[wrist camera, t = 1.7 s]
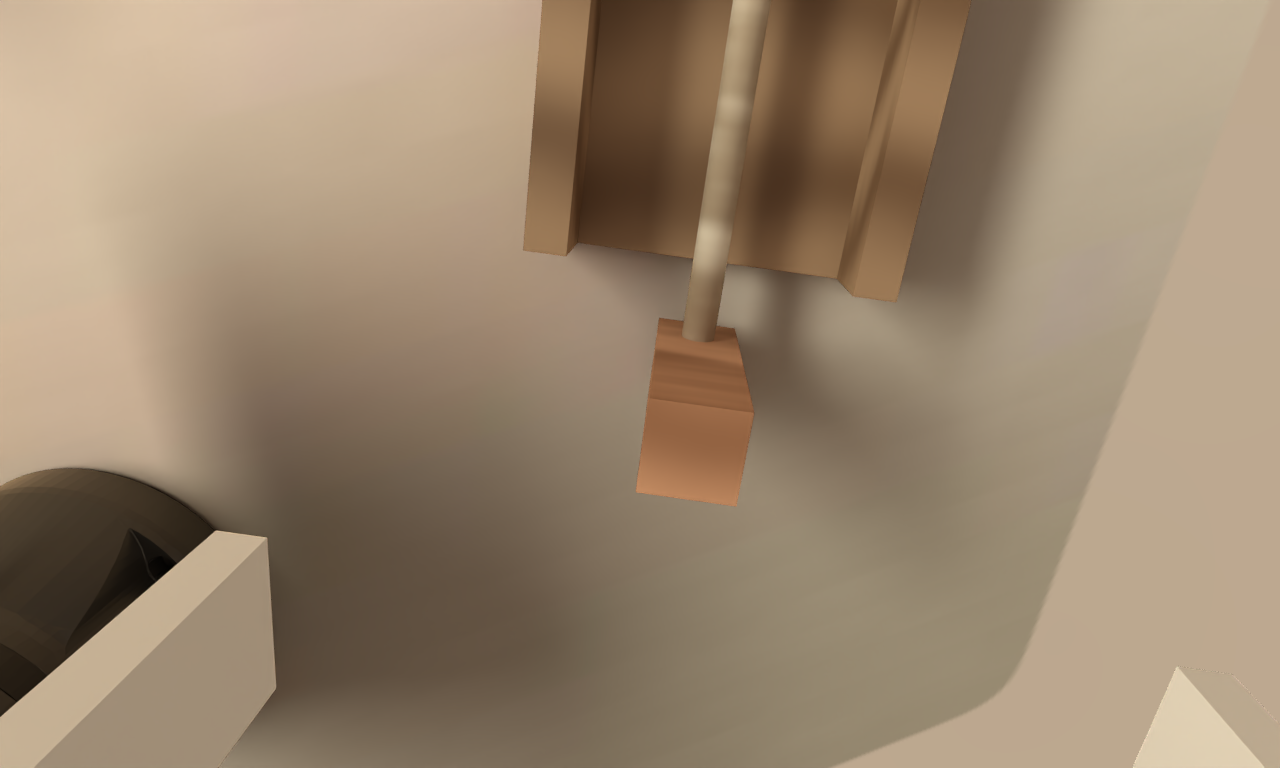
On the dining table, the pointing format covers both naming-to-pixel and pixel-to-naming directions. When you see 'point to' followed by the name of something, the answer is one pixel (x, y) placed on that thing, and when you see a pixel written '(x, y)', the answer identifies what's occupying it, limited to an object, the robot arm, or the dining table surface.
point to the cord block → (708, 312)
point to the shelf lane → (778, 136)
